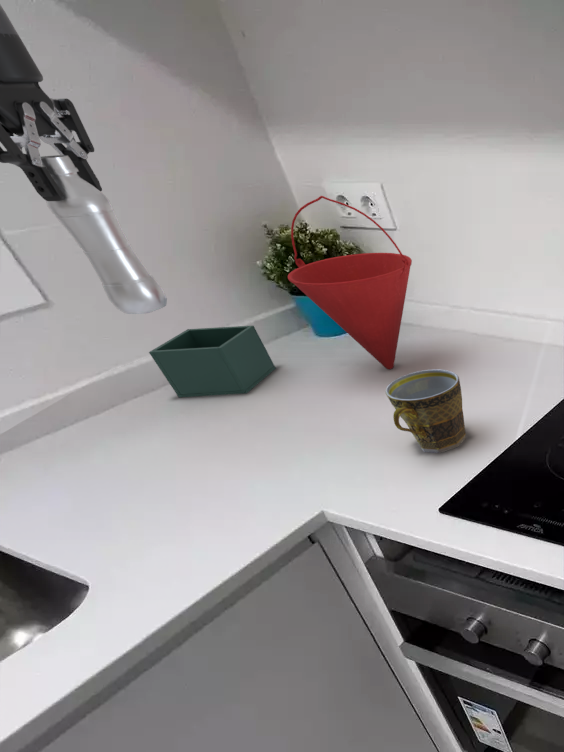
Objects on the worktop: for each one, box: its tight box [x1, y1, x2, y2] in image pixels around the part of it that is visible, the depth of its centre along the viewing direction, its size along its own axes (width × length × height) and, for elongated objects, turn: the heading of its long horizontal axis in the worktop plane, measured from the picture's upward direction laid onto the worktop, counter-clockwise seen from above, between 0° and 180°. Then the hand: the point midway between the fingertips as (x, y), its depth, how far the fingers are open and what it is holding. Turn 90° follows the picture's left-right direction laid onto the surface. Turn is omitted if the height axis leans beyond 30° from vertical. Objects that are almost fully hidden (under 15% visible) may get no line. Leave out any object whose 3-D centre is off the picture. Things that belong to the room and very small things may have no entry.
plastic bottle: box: [40, 154, 168, 315], centre depth 78 cm, size 6×7×20 cm
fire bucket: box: [287, 195, 413, 370], centre depth 98 cm, size 22×20×30 cm
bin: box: [148, 325, 277, 398], centre depth 101 cm, size 12×11×9 cm
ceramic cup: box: [385, 368, 467, 454], centre depth 81 cm, size 13×10×10 cm
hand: (74, 195), depth 74 cm, fingers closed on plastic bottle, 6 cm apart
